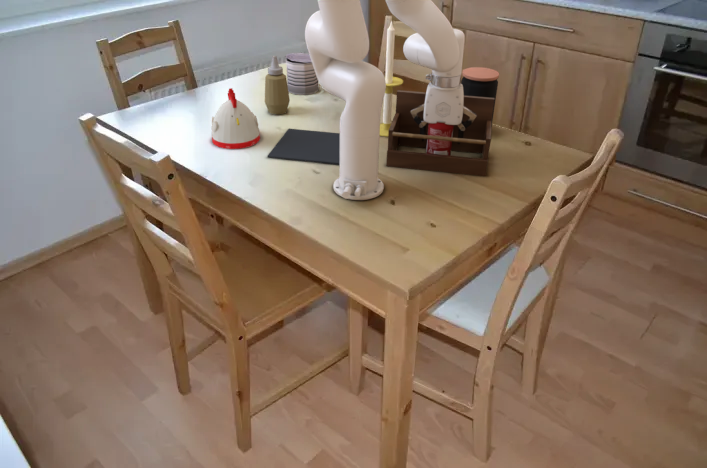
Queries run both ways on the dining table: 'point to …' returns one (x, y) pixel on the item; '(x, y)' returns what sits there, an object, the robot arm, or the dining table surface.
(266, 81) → the squeeze bottle
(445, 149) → the soda can
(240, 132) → the kitchen timer
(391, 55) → the candle
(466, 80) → the coffee jar
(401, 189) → the dining table surface
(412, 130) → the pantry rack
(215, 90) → the dining table surface
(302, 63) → the can
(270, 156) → the mat
